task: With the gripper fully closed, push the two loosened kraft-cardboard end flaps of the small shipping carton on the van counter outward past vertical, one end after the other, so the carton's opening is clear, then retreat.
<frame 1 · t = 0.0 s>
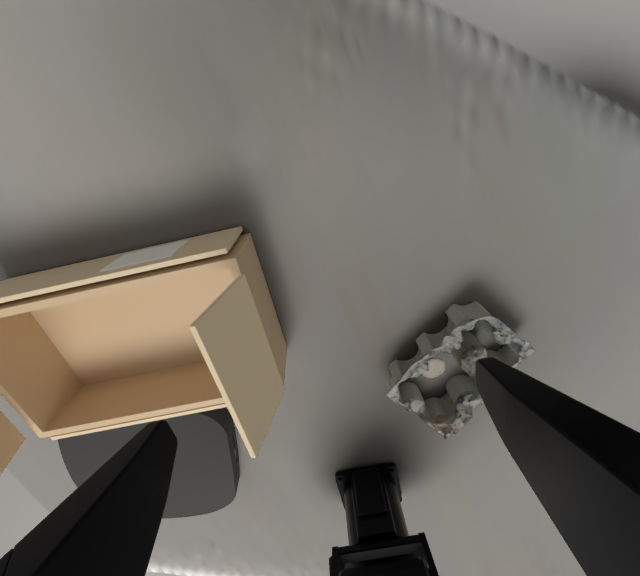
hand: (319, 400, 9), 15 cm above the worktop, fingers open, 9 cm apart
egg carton: (443, 351, 27), on the worktop
flap b: (247, 365, 17), point 8 cm above the worktop, hinge at 15.0°
media streaming box: (164, 444, 31), on the worktop
carton: (158, 318, 24), on the worktop
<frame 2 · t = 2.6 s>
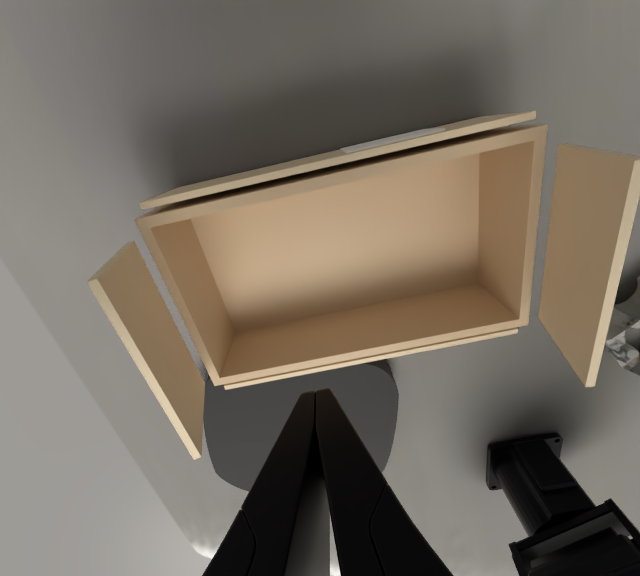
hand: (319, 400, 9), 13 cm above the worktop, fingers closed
flap b: (576, 263, 12), point 8 cm above the worktop, hinge at 15.0°
flap a: (163, 347, 13), point 8 cm above the worktop, hinge at 15.0°
media streaming box: (301, 409, 27), on the worktop
carton: (342, 245, 20), on the worktop
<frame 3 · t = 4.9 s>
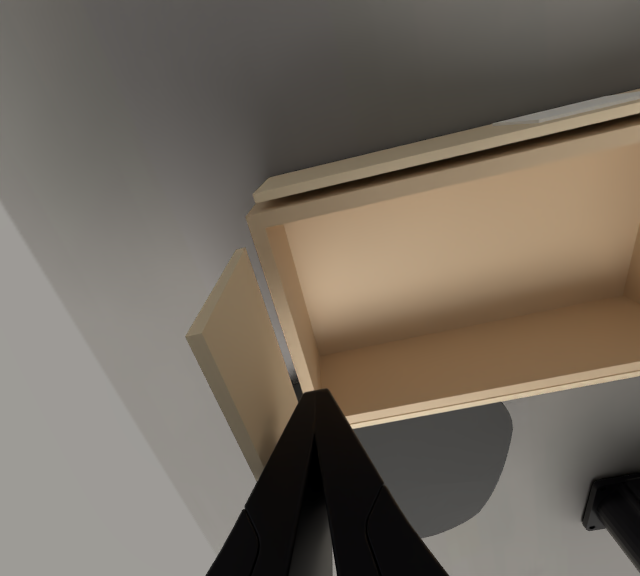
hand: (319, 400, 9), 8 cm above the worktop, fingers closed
flap a: (272, 403, 9), point 8 cm above the worktop, hinge at 1.2°, touching gripper
media streaming box: (380, 442, 23), on the worktop
carton: (461, 250, 16), on the worktop
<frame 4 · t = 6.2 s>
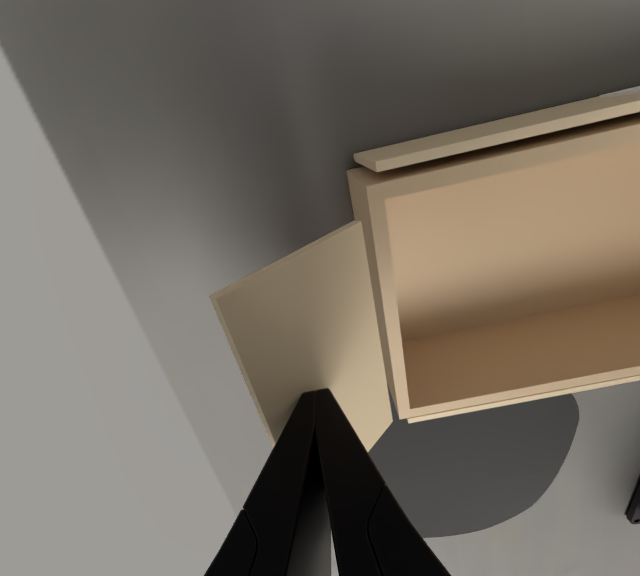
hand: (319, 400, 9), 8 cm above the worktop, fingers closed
flap a: (330, 378, 10), point 7 cm above the worktop, hinge at -47.2°, touching gripper
media streaming box: (431, 434, 22), on the worktop
carton: (541, 233, 15), on the worktop
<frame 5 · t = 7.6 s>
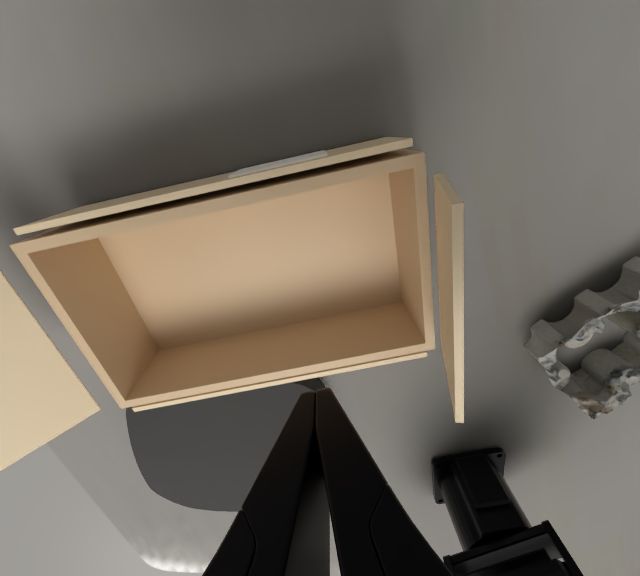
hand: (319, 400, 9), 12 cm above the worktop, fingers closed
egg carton: (593, 317, 23), on the worktop
flap b: (448, 295, 12), point 8 cm above the worktop, hinge at 15.0°
media streaming box: (239, 424, 27), on the worktop
carton: (259, 264, 20), on the worktop
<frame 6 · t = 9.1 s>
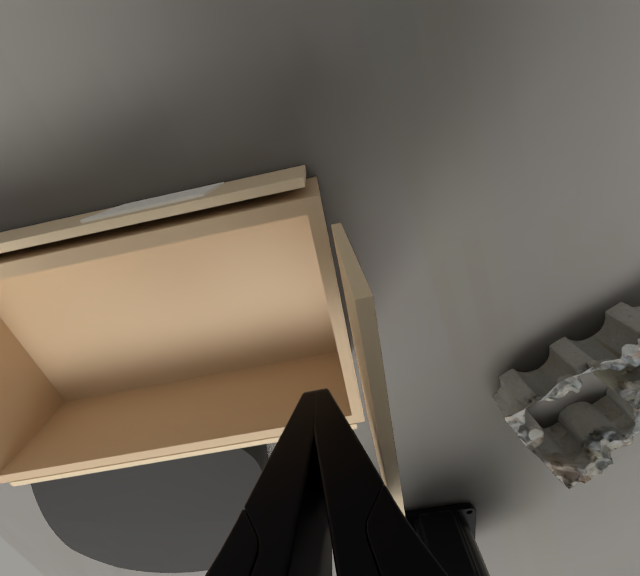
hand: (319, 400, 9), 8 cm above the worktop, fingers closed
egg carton: (572, 366, 20), on the worktop
flap b: (369, 385, 9), point 8 cm above the worktop, hinge at -1.1°, touching gripper
media streaming box: (174, 476, 24), on the worktop
carton: (171, 308, 17), on the worktop
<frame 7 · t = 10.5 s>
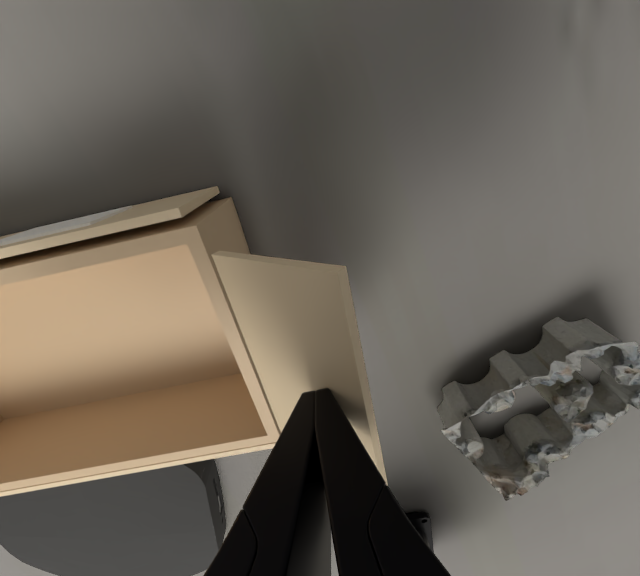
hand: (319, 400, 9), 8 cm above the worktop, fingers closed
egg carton: (515, 379, 20), on the worktop
flap b: (304, 383, 10), point 7 cm above the worktop, hinge at -47.7°, touching gripper
media streaming box: (127, 489, 24), on the worktop
carton: (101, 327, 17), on the worktop
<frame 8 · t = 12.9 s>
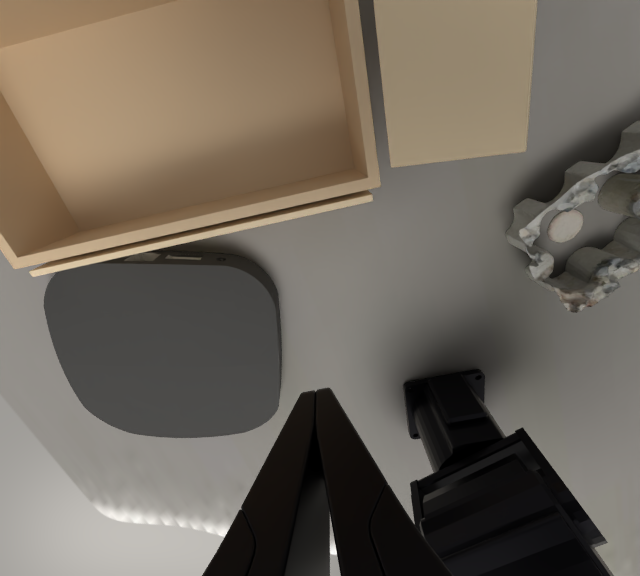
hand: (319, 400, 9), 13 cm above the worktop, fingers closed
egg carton: (584, 206, 20), on the worktop
flap b: (446, 20, 10), point 7 cm above the worktop, hinge at -47.7°
media streaming box: (186, 339, 24), on the worktop
carton: (186, 116, 17), on the worktop
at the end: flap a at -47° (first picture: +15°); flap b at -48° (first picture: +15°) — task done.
